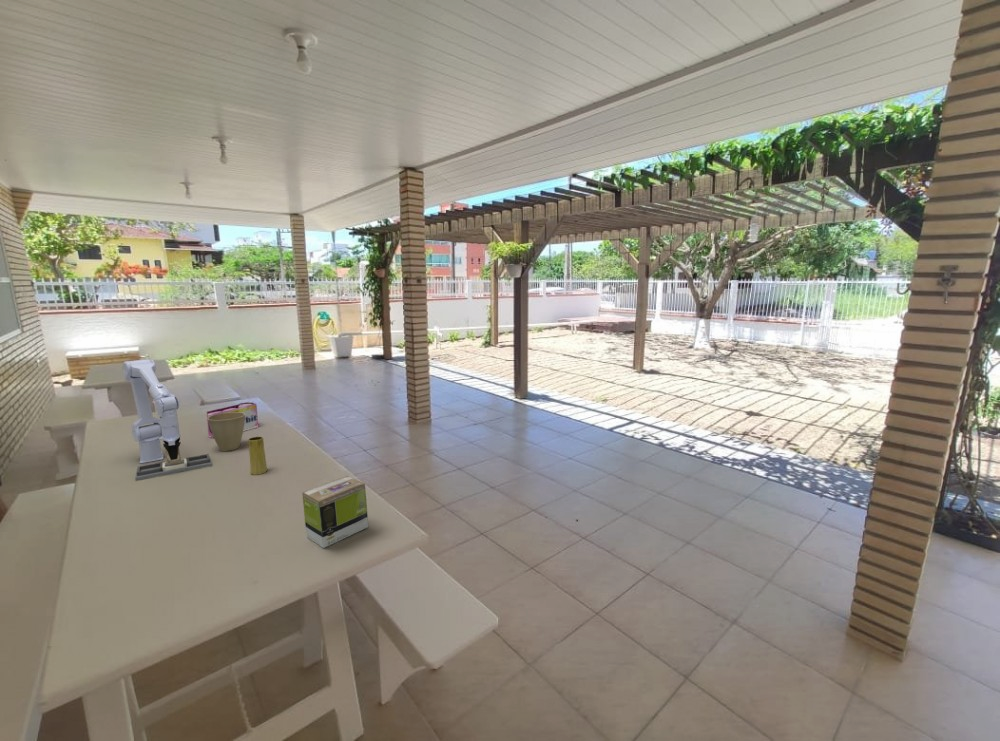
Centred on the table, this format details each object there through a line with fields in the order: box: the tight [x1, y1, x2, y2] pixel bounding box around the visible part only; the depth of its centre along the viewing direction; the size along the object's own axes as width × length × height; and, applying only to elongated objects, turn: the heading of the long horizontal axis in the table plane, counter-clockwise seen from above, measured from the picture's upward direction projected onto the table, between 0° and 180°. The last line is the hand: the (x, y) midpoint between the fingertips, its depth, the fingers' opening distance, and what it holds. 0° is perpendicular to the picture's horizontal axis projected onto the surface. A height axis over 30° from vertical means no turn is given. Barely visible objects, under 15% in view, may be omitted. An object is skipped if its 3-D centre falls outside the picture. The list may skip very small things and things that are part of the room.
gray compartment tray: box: [135, 453, 213, 481], centre depth 180 cm, size 11×25×3 cm, turn 127°
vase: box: [247, 436, 268, 476], centre depth 176 cm, size 6×6×14 cm
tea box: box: [302, 475, 369, 549], centre depth 130 cm, size 15×10×15 cm, turn 141°
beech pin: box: [164, 448, 182, 463], centre depth 179 cm, size 4×4×6 cm
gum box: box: [206, 402, 259, 438], centre depth 229 cm, size 24×8×14 cm, turn 156°
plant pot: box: [206, 412, 245, 452], centre depth 204 cm, size 15×15×16 cm
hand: (173, 457), depth 180 cm, fingers closed on beech pin, 4 cm apart
